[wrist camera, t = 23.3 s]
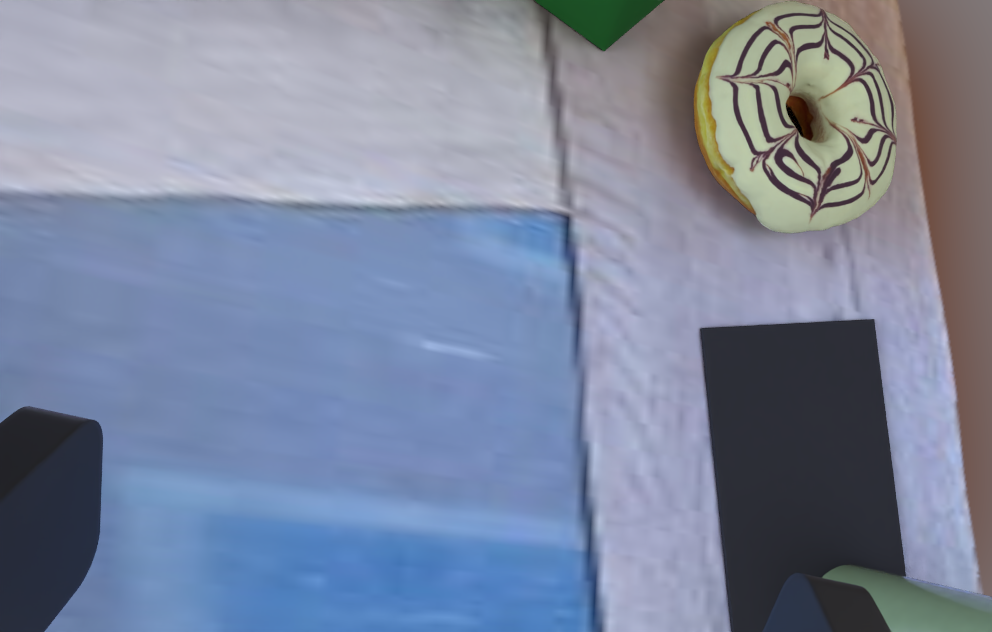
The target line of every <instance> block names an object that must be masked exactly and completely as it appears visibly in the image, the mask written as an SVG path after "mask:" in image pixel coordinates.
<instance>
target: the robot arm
mask: <svg viewBox="0 0 992 632" xmlns="http://www.w3.org/2000/svg"><path fill="white" fill-rule="evenodd" d="M102 452H103V434H102V429H101V426H100V425H99V423H98V422H97V421H95V420H91V419H86V418H81V417H76V416H72V415H67V414H62V413H58V412H53V411H48V410H44V409H39V408H34V407H30V406H28V407H23V408H20V409H19V410H17V411H16V412H14V413H13V414H12V415H10V416H9V417H8V418H6V419H5V420H4V421H3V422H1V423H0V632H44V631H45V630H46V629H47V627H48V626H49V625H50V624H51V622H52V621H53V620H54V619H55V617H56V616H57V615H58V613H59V612H60V611H61V610H62V608H63V607H64V606H65V605H66V603H67V602H68V601H69V599H70V598H71V597H72V596H73V594H74V593H75V592H76V591H77V589H78V588H79V586H80V585H81V583H82V582H83V580H84V578H85V576H86V574H87V572H88V570H89V568H90V566H91V563H92V561H93V558H94V555H95V552H96V549H97V545H98V540H99V533H100V511H101V482H102ZM763 632H891V630H890V628H889V626H888V625H887V623H886V621H885V619H884V617H883V616H882V614H881V612H880V610H879V608H878V607H877V605H876V603H875V601H874V599H873V598H872V596H871V594H870V593H869V592H868V591H867V590H866V589H865V588H864V587H862V586H858V585H853V584H849V583H844V582H839V581H835V580H830V579H825V578H821V577H816V576H811V575H807V574H802V573H794V574H792V575H791V576H790V577H789V578H788V579H787V580H786V581H785V583H784V585H783V587H782V589H781V591H780V593H779V595H778V598H777V600H776V602H775V604H774V607H773V609H772V611H771V613H770V616H769V618H768V620H767V623H766V625H765V627H764V629H763Z"/></svg>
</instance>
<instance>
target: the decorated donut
mask: <svg viewBox="0 0 992 632" xmlns="http://www.w3.org/2000/svg"><path fill="white" fill-rule="evenodd" d="M786 105H788V107H790V108H791V110H792V112H793V114H794V115H795V117H796V118H797V120H798V122H799V124H800V127H802V132H803V137H801V136H800V134H799V132H798V130H797V129H796V127H795V125H794V124H793V123H792V122H791V120H790V118H789V116H788V114H787V111H786ZM694 122H695V131H696V135H697V140H698V143H699V146H700V150H701V152H702V154H703V157H704V159H705V161H706V164H707V166H708V168H709V170H710V171H711V173H712V175H713V176H714V177H715V179H716V181H717V182H718V183H719V184H720V185H721V186H722V187H723V188H724V189H725V190H726V191H727V192H728V193H730V194H731V195H732V196H733V197H734V198H735V199H737V200H738V201H739V202H740V203H741V204H742V205H743V206H744V207H745V208H746V209H747V210H749V211H750V212H751V213H753V214H754V215H756V217H757V219H758V220H759V222H760V223H761V224H762V225H763V226H765V227H766V228H768V229H770V230H772V231H776V232H781V233H800V232H805V231H820V230H826V229H829V228H831V227H833V226H838V225H841V224H844V223H847V222H849V221H851V220H853V219H856V218H858V217H859V216H861V215H862V214H863V213H864V212H866V211H867V210H869V209H870V208H871V207H872V206H874V205H875V204H876V202H877V201H878V200H879V199H880V198H881V197H882V196H883V195H884V194H885V192H886V191H887V189H888V187H889V184H890V182H891V180H892V175H893V170H894V163H895V155H896V142H897V137H896V108H895V104H894V100H893V97H892V94H891V92H890V90H889V87H888V84H887V82H886V80H885V76H884V73H883V71H882V68H881V65H880V63H879V61H878V60H877V58H876V57H875V56H874V55H873V54H872V53H871V51H870V50H869V48H868V47H867V46H866V44H865V43H864V42H863V41H862V40H861V39H860V38H859V36H858V35H857V34H856V33H855V32H854V30H853V29H852V28H851V26H850V25H849V24H848V23H846V22H845V21H843V20H841V19H840V18H838V17H837V16H836V15H834V14H830V13H828V12H826V11H824V10H822V9H820V8H818V7H816V6H813V5H809V4H804V3H799V2H797V1H785V2H781V3H776V4H773V5H768V6H766V7H764V8H762V9H760V10H758V11H755V12H753V13H751V14H750V15H748V16H746V17H745V18H743V19H741V20H739V21H738V22H736V23H734V24H733V25H732V26H731V27H730V28H729V29H727V30H726V31H725V32H724V33H723V34H722V35H721V36H720V37H719V38H717V39H716V40H715V41H714V42H713V43H712V45H711V46H710V48H709V50H708V51H707V53H706V56H705V59H704V62H703V66H702V69H701V71H700V74H699V77H698V80H697V83H696V86H695V92H694Z"/></svg>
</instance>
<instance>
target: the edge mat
mask: <svg viewBox="0 0 992 632" xmlns="http://www.w3.org/2000/svg"><path fill="white" fill-rule="evenodd" d="M701 339H702V349H703V358H704V368H705V378H706V388H707V397H708V407H709V417H710V427H711V436H712V446H713V456H714V465H715V475H716V485H717V495H718V504H719V514H720V524H721V534H722V543H723V553H724V563H725V573H726V582H727V592H728V602H729V612H730V621H731V631H732V632H763V629H764V627H765V625H766V623H767V620H768V618H769V616H770V613H771V611H772V609H773V607H774V604H775V602H776V600H777V598H778V595H779V593H780V591H781V589H782V587H783V585H784V583H785V581H786V580H787V579H788V578H789V577H790V576H791V575H792V574H794V573H802V574H807V575H811V576H816V577H823V576H824V575H825V574H826V573H827V572H829V571H830V570H832V569H834V568H836V567H839V566H842V565H858V566H863V567H867V568H871V569H876V570H880V571H884V572H888V573H893V574H897V575H901V576H906V572H905V564H904V556H903V548H902V540H901V532H900V524H899V516H898V508H897V500H896V492H895V484H894V476H893V468H892V460H891V452H890V444H889V436H888V428H887V420H886V412H885V404H884V395H883V387H882V379H881V371H880V363H879V355H878V347H877V339H876V331H875V323H874V319H871V320H852V321H833V322H814V323H795V324H776V325H757V326H738V327H719V328H702V329H701Z"/></svg>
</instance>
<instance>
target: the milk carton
mask: <svg viewBox="0 0 992 632" xmlns="http://www.w3.org/2000/svg"><path fill="white" fill-rule="evenodd" d="M534 1H536V2H537V3H538V4H540V5H541V6H542V7H544V8H545V9H547V10H548V11H549V12H551V13H552V14H553V15H555V16H556V17H558V18H559V19H560V20H562V21H563V22H564V23H566V24H567V25H568V26H570V27H571V28H573V29H574V30H575V31H577V32H578V33H579V34H581V35H582V36H583V37H585V38H586V39H588V40H589V41H590V42H592V43H593V44H594V45H596V46H597V47H599V48H600V49H601V50H603V51H605V50H606V49H607V48H609V47H610V46H611V45H612V44H613V43H614V42H616V41H617V40H618V39H619V38H620V37H621V36H623V35H624V34H625V33H626V32H627V31H629V30H630V29H631V28H632V27H633V26H634V25H636V24H637V23H638V22H639V21H640V20H642V19H643V18H644V17H645V16H646V15H647V14H649V13H650V12H651V11H652V10H653V9H655V8H656V7H657V6H658V5H659V4H660V3H662V2H663V1H664V0H534Z"/></svg>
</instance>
